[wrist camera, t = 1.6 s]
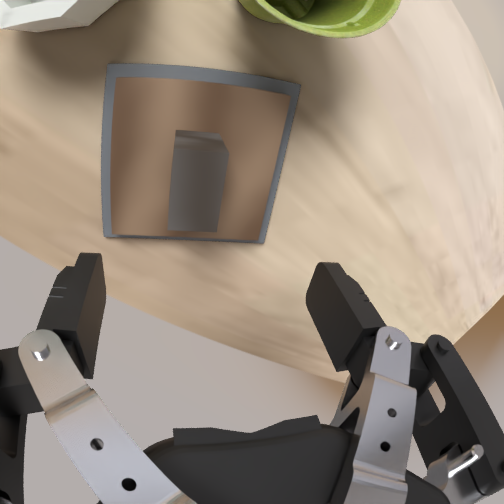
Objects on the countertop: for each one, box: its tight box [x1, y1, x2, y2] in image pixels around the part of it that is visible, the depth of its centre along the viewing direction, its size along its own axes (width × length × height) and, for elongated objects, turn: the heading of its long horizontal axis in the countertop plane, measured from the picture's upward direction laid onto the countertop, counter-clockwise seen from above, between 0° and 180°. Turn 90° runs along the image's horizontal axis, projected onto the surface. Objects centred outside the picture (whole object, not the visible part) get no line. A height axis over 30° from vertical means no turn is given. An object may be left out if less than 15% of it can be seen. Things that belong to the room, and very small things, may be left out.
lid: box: [110, 77, 291, 241], centre depth 20 cm, size 12×12×6 cm
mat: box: [101, 64, 301, 243], centre depth 22 cm, size 14×14×1 cm
